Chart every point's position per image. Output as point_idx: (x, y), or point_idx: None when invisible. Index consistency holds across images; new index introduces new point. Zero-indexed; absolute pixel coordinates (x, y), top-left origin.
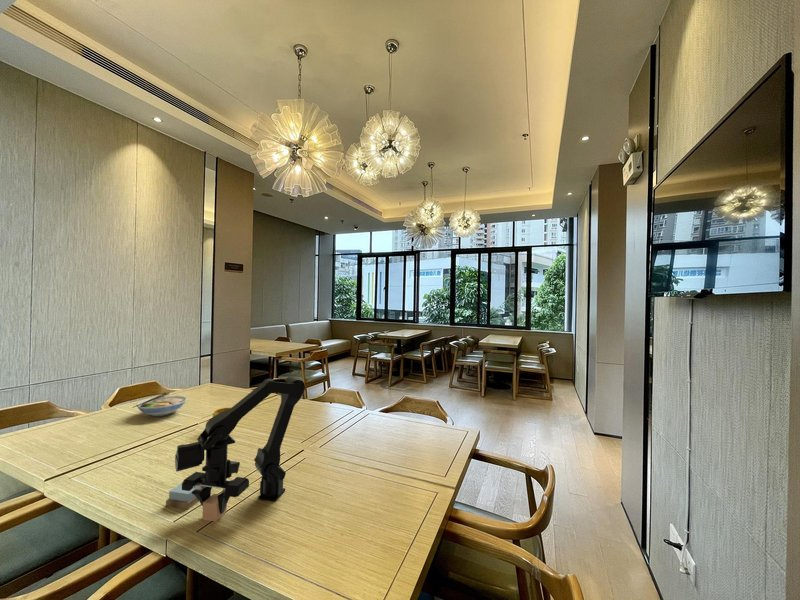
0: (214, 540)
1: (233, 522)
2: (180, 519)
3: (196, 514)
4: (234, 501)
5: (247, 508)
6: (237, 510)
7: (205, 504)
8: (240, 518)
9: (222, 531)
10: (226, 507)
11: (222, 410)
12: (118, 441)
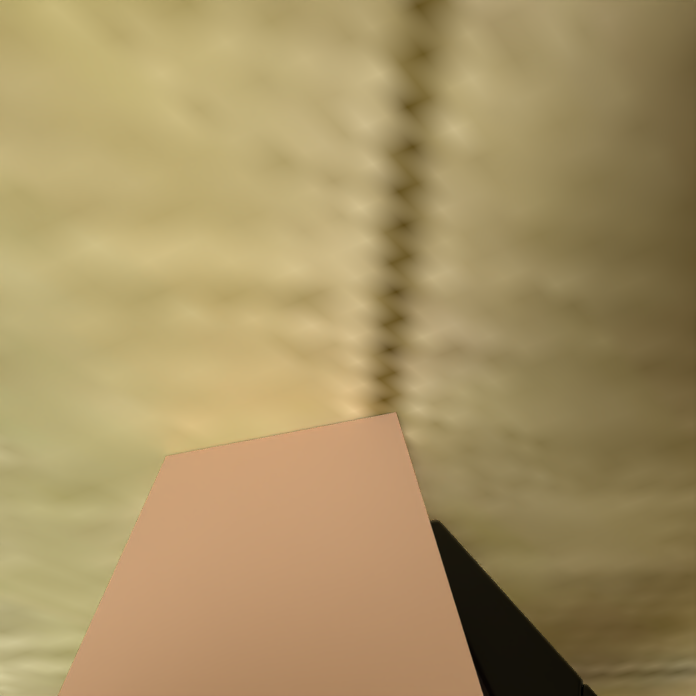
0: (603, 683)
1: (640, 505)
2: (3, 678)
3: (60, 584)
4: (280, 134)
5: (687, 216)
6: (541, 325)
7: None
8: (692, 430)
9: (603, 614)
10: (411, 464)
11: None
12: None
